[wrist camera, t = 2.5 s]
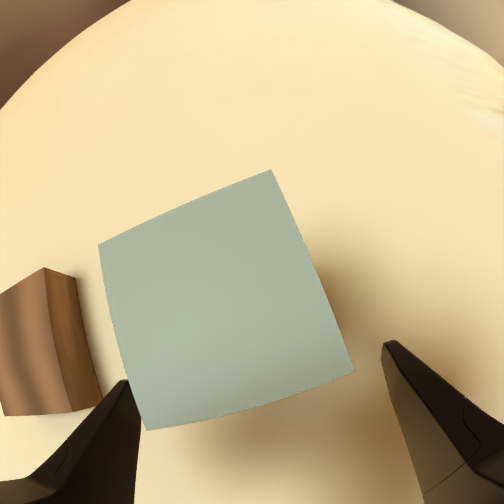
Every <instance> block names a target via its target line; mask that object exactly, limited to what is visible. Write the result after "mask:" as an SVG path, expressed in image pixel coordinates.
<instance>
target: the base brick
mask: <svg viewBox="0 0 504 504" xmlns="http://www.w3.org/2000/svg"><path fill="white" fill-rule="evenodd" d="M102 399H103V398H102V395H101V392H100V389H99V386H98V382H97V379H96V376H95V372H94V368H93V365H92V361H91V357H90V353H89V349H88V345H87V341H86V336H85V332H84V327H83V322H82V317H81V312H80V307H79V301H78V295H77V288H76V281H75V278H74V277H71V276H68V275H65V274H62V273H59V272H56V271H53V270H50V269H47V268H44V267H43V268H42V269H40V270H38V271H37V272H35V273H33V274H32V275H30V276H28V277H27V278H25V279H23V280H22V281H20V282H19V283H17V284H15V285H14V286H12V287H11V288H9V289H7V290H6V291H4V292H3V293H1V294H0V402H1V405H2V409H3V412H4V415H5V416H29V415H45V414H58V413H68V412H75V411H79V410H83V409H87V408H91V407H94V406H97V405H98V404H99V403H100V402H101V401H102Z"/></svg>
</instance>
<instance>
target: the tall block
mask: <svg viewBox="0 0 504 504" xmlns="http://www.w3.org/2000/svg"><path fill="white" fill-rule="evenodd" d="M98 247H99V255H100V261H101V268H102V274H103V279H104V285H105V290H106V295H107V300H108V305H109V310H110V314H111V319H112V323H113V327H114V331H115V335H116V339H117V343H118V347H119V350H120V354H121V357H122V361H123V364H124V368H125V371H126V374H127V377H128V381H129V384H130V387H131V390H132V393H133V396H134V399H135V402H136V404H137V407H138V410H139V413H140V415H141V418H142V421H143V423H144V426H145V428H146V431H148V430H155V429H161V428H167V427H173V426H179V425H184V424H189V423H194V422H199V421H203V420H208V419H212V418H217V417H221V416H225V415H229V414H233V413H236V412H240V411H244V410H247V409H251V408H254V407H258V406H261V405H265V404H268V403H271V402H274V401H277V400H280V399H283V398H286V397H289V396H292V395H295V394H298V393H301V392H304V391H306V390H309V389H312V388H314V387H317V386H320V385H322V384H325V383H327V382H330V381H332V380H335V379H337V378H340V377H342V376H344V375H347V374H349V373H351V372H354V371H355V370H354V367H353V365H352V362H351V359H350V356H349V354H348V351H347V348H346V345H345V343H344V340H343V337H342V335H341V332H340V329H339V327H338V324H337V322H336V319H335V316H334V314H333V311H332V309H331V306H330V304H329V301H328V299H327V296H326V294H325V291H324V289H323V286H322V284H321V281H320V279H319V276H318V274H317V272H316V269H315V267H314V264H313V262H312V260H311V257H310V255H309V253H308V250H307V248H306V246H305V243H304V241H303V239H302V236H301V234H300V232H299V229H298V227H297V225H296V223H295V220H294V218H293V216H292V214H291V211H290V209H289V207H288V205H287V203H286V200H285V198H284V196H283V194H282V192H281V189H280V187H279V185H278V183H277V181H276V179H275V177H274V174H273V172H272V170H269V171H266V172H263V173H261V174H258V175H255V176H253V177H250V178H248V179H245V180H242V181H240V182H237V183H235V184H232V185H230V186H227V187H225V188H222V189H220V190H217V191H215V192H212V193H210V194H208V195H205V196H203V197H200V198H198V199H196V200H193V201H191V202H189V203H186V204H184V205H182V206H180V207H177V208H175V209H173V210H171V211H168V212H166V213H164V214H162V215H159V216H157V217H155V218H153V219H151V220H149V221H146V222H144V223H142V224H140V225H138V226H136V227H134V228H132V229H129V230H127V231H125V232H123V233H121V234H119V235H117V236H115V237H113V238H111V239H109V240H107V241H105V242H103V243H101V244H99V245H98Z"/></svg>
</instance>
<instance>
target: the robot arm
mask: <svg viewBox="0 0 504 504" xmlns="http://www.w3.org/2000/svg"><path fill="white" fill-rule="evenodd" d="M381 362H382V366H383V370H384V374H385V378H386V382H387V386H388V390H389V394H390V398H391V401H392V404H393V407H394V410H395V413H396V415H397V418H398V421H399V424H400V426H401V429H402V432H403V435H404V438H405V441H406V444H407V446H408V449H409V452H410V456H411V459H412V462H413V465H414V468H415V471H416V474H417V478H418V481H419V484H420V488H421V491H422V494H423V499H424V502H425V504H504V424H502V423H500V422H499V421H497V420H496V419H494V418H493V417H491V416H490V415H488V414H487V413H485V412H484V411H482V410H481V409H480V408H479V407H477V406H476V405H475V404H474V403H472V402H471V401H470V400H469V399H468V398H465V396H464V395H463V394H461V393H460V392H459V391H458V390H457V389H455V388H454V387H453V386H452V385H451V384H449V383H448V382H447V381H446V380H444V379H443V378H442V377H441V376H440V375H438V374H437V373H436V372H435V371H433V370H432V369H431V368H430V367H429V366H427V365H426V364H425V363H424V362H422V361H421V360H420V359H419V358H417V357H416V356H415V355H414V354H412V353H411V352H410V351H409V350H408V349H406V348H405V347H404V346H403V345H401V344H400V343H399V342H398V341H396V340H391V341H387V342H384V344H383V348H382V355H381ZM140 434H141V415H140V413H139V410H138V407H137V404H136V402H135V399H134V396H133V393H132V390H131V387H130V384H129V381H128V380H120V381H119V382H118V383H117V384H116V385H115V386H114V387H113V388H112V390H111V391H110V392H109V393H108V394H107V395H106V396H105V397H104V398H103V399H102V401H101V402H100V403H99V404H98V405H97V406H96V407H95V408H94V409H93V411H92V412H91V413H90V414H89V415H88V416H87V417H86V418H85V419H84V420H83V422H82V423H81V424H80V425H79V426H78V427H77V428H76V429H75V431H74V432H73V433H72V434H71V435H70V436H69V437H68V438H67V440H65V442H64V443H63V444H62V445H61V446H60V447H59V448H58V449H57V450H56V451H55V452H54V453H53V454H52V455H51V456H50V457H49V458H48V459H47V460H46V461H45V462H44V463H43V464H42V465H41V466H40V467H39V468H37V469H36V470H35V471H34V472H33V473H32V474H31V475H29V476H27V477H25V478H22V479H16V480H9V481H1V482H0V504H134V495H135V482H136V470H137V460H138V451H139V442H140Z"/></svg>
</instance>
